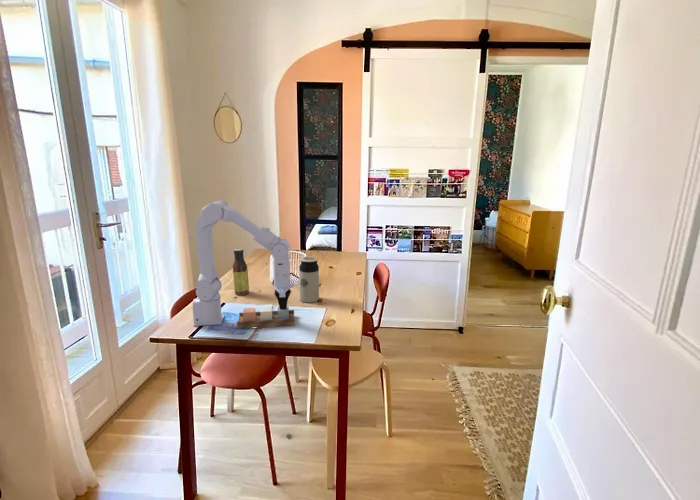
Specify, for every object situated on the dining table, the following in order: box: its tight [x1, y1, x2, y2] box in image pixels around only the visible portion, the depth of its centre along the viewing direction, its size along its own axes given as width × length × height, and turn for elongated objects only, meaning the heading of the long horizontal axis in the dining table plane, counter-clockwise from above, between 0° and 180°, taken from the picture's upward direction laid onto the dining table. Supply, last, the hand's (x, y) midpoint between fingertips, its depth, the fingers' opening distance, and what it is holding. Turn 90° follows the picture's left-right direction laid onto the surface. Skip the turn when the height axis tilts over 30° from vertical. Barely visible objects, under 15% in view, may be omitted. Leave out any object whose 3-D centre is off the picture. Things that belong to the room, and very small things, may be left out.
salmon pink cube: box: [243, 307, 257, 321], centre depth 141 cm, size 4×4×4 cm
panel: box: [236, 309, 296, 330], centre depth 143 cm, size 20×9×2 cm, turn 100°
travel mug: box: [298, 256, 320, 304], centre depth 164 cm, size 8×8×18 cm
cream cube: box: [259, 306, 273, 320], centre depth 142 cm, size 4×4×4 cm
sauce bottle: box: [232, 248, 250, 296], centre depth 170 cm, size 6×6×20 cm
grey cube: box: [276, 305, 290, 319], centre depth 143 cm, size 4×4×4 cm
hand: (283, 309), depth 143 cm, fingers closed, pressing on grey cube
